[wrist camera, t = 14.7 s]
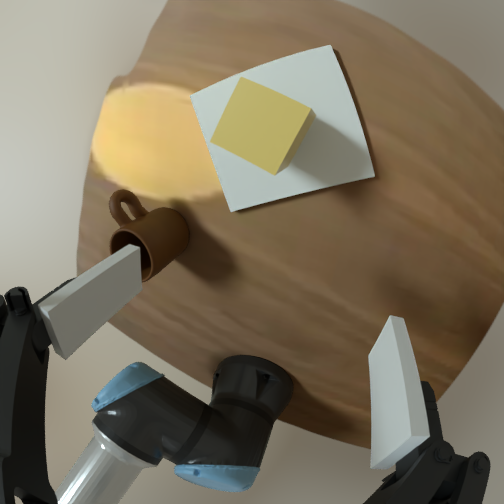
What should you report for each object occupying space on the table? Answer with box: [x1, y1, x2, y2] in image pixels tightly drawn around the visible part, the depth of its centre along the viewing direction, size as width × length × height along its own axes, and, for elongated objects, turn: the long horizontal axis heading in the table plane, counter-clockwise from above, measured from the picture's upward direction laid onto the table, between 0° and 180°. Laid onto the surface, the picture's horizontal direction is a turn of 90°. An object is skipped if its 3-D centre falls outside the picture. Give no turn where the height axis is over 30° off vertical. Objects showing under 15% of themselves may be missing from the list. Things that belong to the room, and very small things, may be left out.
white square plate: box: [190, 45, 375, 212], centre depth 25 cm, size 18×16×9 cm
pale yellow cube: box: [210, 77, 316, 176], centre depth 23 cm, size 6×6×7 cm
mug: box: [109, 189, 189, 282], centre depth 35 cm, size 12×8×9 cm, turn 20°
